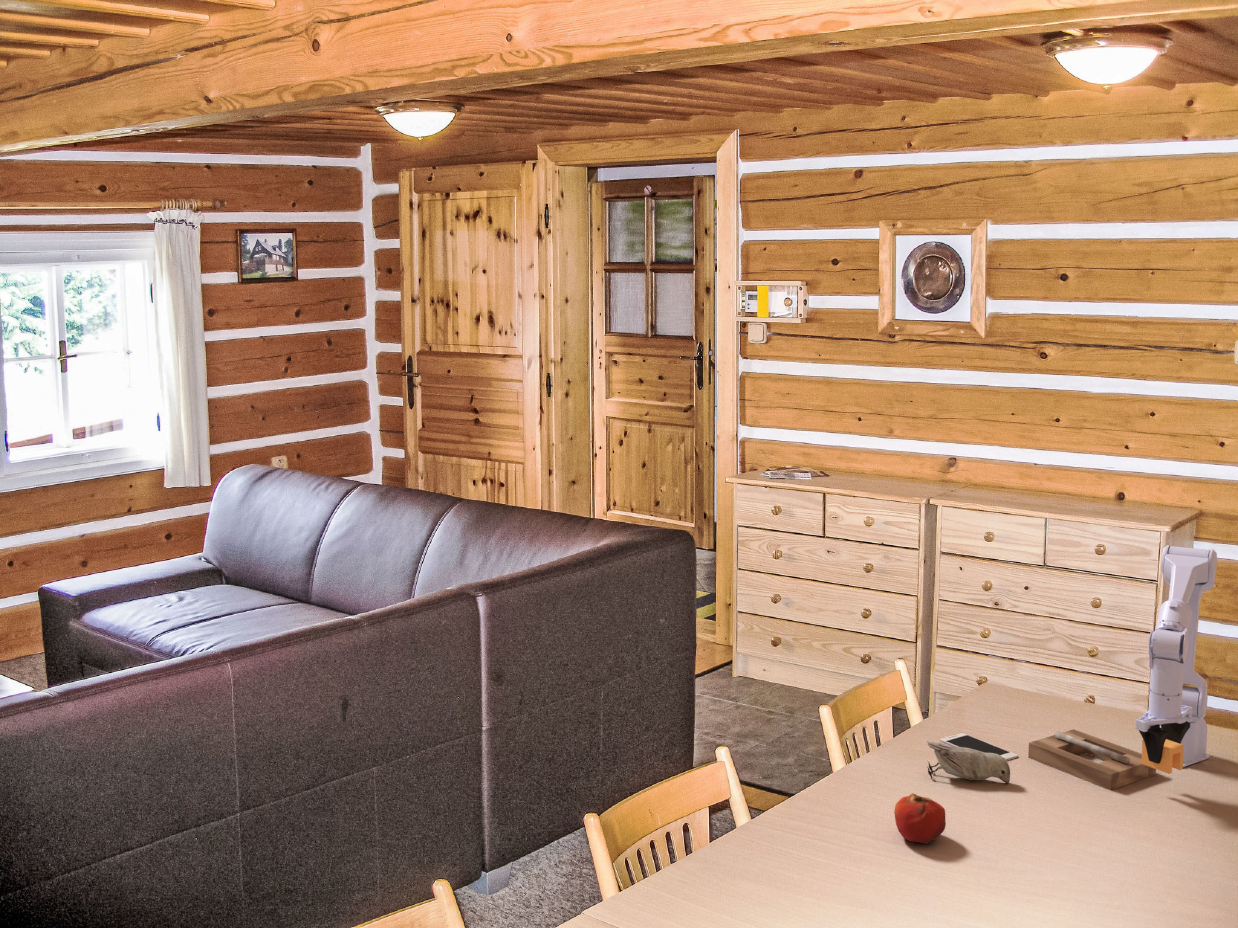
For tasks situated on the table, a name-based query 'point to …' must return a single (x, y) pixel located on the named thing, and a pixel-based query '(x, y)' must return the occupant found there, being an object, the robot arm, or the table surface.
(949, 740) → the smartphone
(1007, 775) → the decorative bird
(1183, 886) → the table surface
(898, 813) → the tomato
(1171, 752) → the orange notched block
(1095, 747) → the wooden slotted rail base
